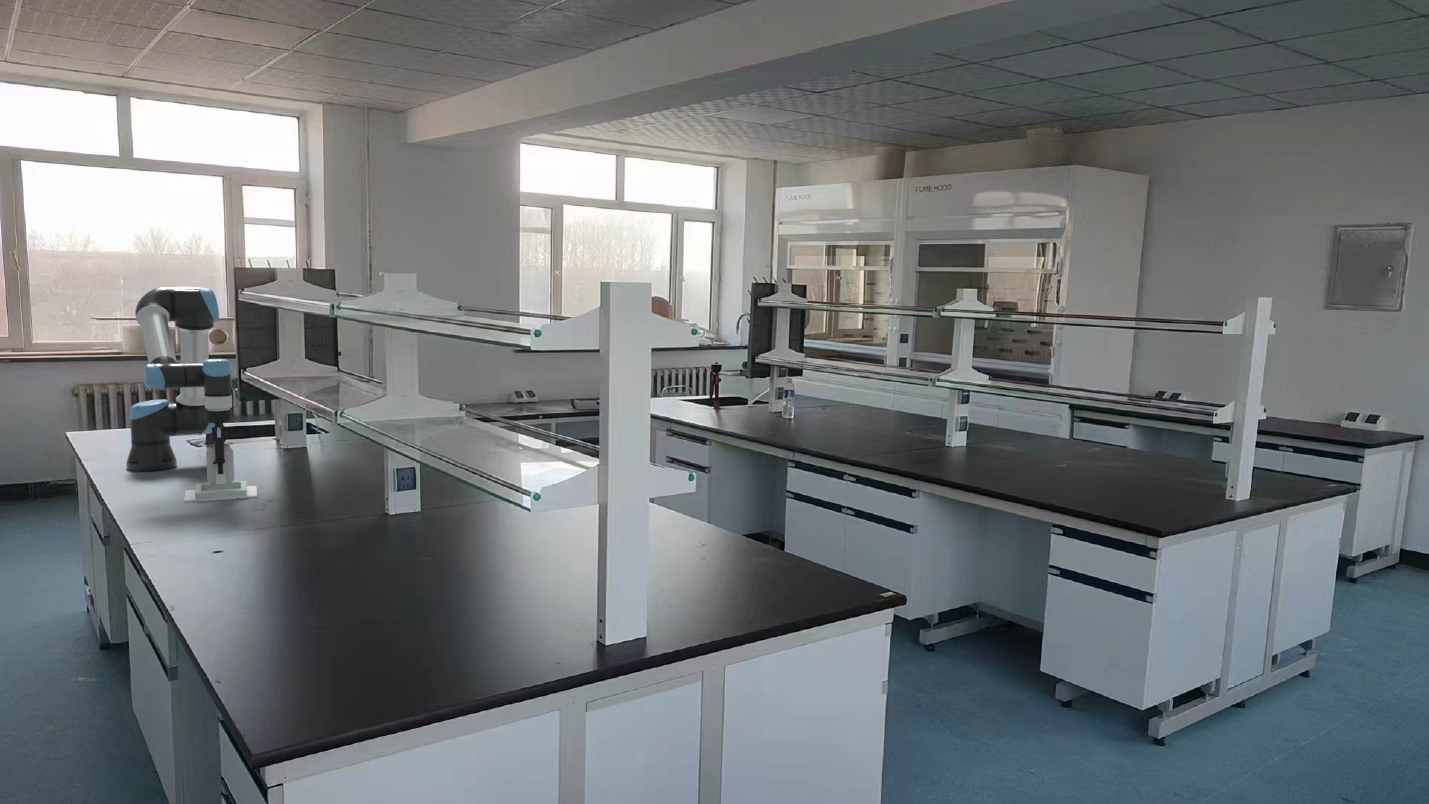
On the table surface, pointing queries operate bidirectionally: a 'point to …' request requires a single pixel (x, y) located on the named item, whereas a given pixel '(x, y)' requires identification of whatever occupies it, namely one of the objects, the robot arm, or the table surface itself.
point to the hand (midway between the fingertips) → (221, 481)
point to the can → (228, 465)
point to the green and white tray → (220, 492)
